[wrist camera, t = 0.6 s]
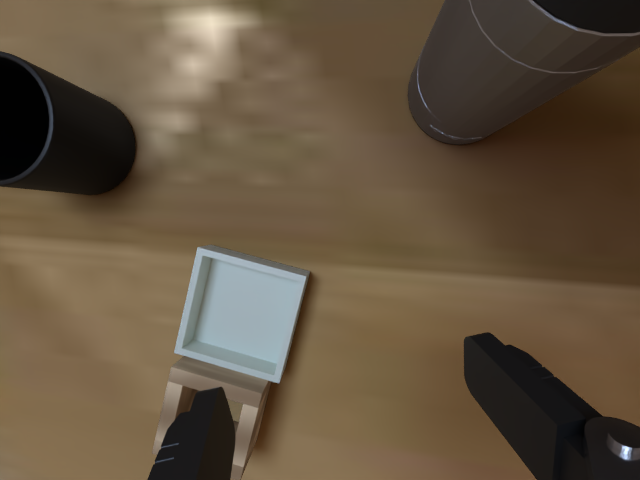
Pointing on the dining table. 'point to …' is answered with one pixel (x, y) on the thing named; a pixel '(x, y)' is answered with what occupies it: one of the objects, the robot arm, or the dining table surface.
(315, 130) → the dining table surface
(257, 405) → the block
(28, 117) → the mug
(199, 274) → the tray
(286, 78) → the dining table surface
